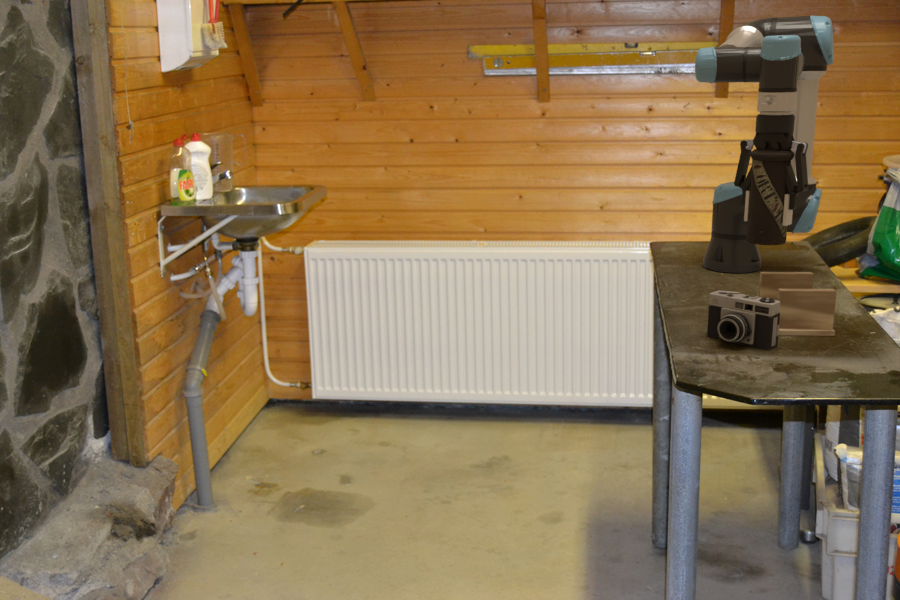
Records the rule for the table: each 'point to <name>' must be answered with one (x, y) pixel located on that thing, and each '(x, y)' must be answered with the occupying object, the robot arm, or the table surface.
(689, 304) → the table surface
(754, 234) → the container
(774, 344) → the camera
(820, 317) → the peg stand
